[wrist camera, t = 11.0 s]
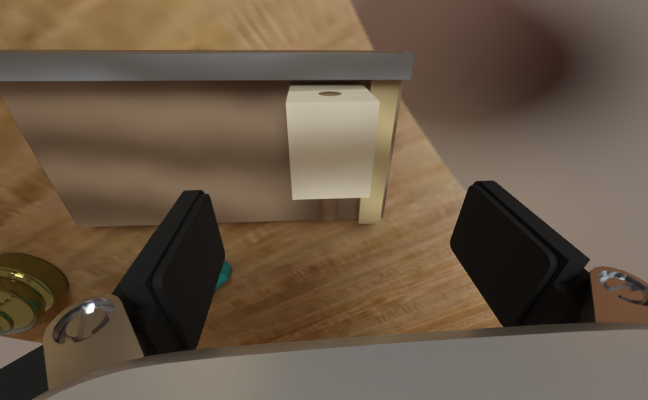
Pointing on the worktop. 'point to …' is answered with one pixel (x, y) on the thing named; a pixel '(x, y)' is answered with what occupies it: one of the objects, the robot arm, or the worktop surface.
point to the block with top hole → (331, 142)
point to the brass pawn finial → (27, 291)
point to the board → (186, 128)
